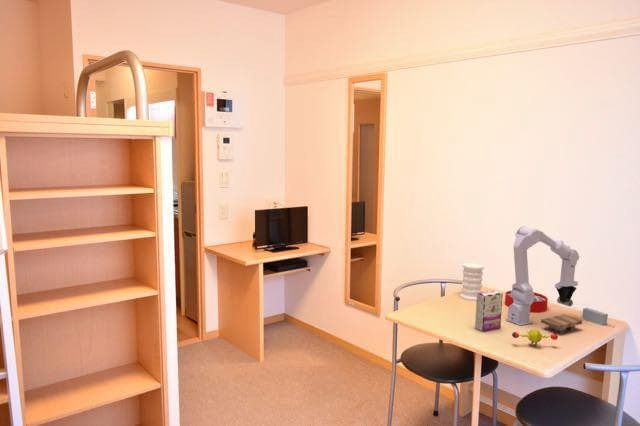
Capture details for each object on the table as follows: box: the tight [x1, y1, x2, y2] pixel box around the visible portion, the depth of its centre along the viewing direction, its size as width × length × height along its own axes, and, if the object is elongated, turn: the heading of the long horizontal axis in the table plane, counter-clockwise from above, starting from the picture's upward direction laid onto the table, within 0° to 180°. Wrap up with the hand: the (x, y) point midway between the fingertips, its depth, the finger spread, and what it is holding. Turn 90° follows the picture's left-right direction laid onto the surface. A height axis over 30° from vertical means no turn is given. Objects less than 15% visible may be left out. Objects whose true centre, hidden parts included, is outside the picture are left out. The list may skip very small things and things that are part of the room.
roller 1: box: [556, 296, 574, 307], centre depth 226 cm, size 3×6×3 cm, turn 29°
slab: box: [540, 314, 583, 329], centre depth 211 cm, size 16×9×2 cm, turn 119°
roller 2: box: [548, 325, 567, 334], centre depth 210 cm, size 3×6×3 cm, turn 29°
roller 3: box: [565, 325, 576, 331], centre depth 214 cm, size 3×6×3 cm, turn 29°
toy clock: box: [504, 290, 549, 314], centre depth 244 cm, size 20×6×20 cm
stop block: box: [581, 307, 609, 326], centre depth 224 cm, size 3×10×5 cm, turn 29°
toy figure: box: [511, 328, 559, 347], centre depth 192 cm, size 18×6×7 cm, turn 88°
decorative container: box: [459, 262, 485, 302], centre depth 255 cm, size 12×12×18 cm
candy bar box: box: [474, 289, 504, 333], centre depth 209 cm, size 11×5×16 cm, turn 117°
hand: (564, 301), depth 226 cm, fingers closed on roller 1, 3 cm apart
